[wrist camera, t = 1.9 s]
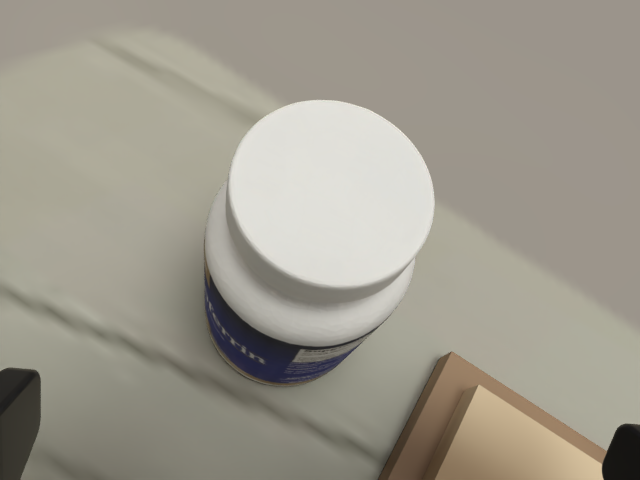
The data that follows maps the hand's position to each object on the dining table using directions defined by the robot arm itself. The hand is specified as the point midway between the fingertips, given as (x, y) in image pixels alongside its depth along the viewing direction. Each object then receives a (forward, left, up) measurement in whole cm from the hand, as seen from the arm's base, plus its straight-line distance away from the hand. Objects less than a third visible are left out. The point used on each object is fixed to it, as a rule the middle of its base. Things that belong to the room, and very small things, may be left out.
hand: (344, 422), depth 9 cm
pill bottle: (+3, +4, -12) cm, 13 cm away
